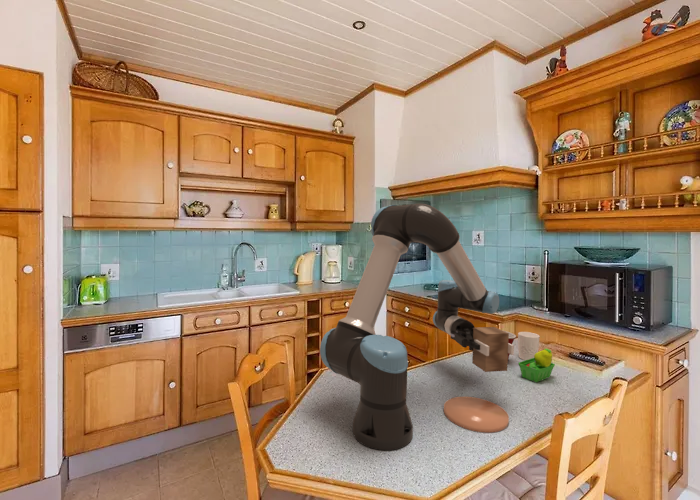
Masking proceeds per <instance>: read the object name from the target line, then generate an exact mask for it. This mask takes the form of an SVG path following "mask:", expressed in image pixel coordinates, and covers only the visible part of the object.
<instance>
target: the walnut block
mask: <svg viewBox="0 0 700 500" xmlns="http://www.w3.org/2000/svg"><path fill="white" fill-rule="evenodd" d="M505 331H506V330H503V331H502V329H500V328H497V327H495V326H484V327H483V326H482V327H481V326H480V327H475V328H474V329H473V339H474V340H478V341H480V342H482V343H484V344H486V345H488V346H489V356H486V355H484V354H482V353H481V352H479V351H477V350H476V349H474V348H473V350H472V358H471V359H472V360H471V361H472V364H473V365H474V366H476V367H477V368H479V369H480V370H482V371H483V372H484V373H493V372H507V371H508V364H509V363H508V362H509V359H508V339H509V333H507V332H508V331H507V332H505Z"/></svg>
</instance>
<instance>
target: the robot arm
mask: <svg viewBox="0 0 700 500" xmlns="http://www.w3.org/2000/svg"><path fill="white" fill-rule="evenodd" d="M370 227H371V229H370V232H371V234H372V238H371V240H372V242H373V244H374V246H373V248H372V251H371V253H370V256H369V258H368V262H367V263H366V266H365V268H364V271H363V273H362V275H361V279H360V281H359V283H358V285H357V289H356V291H355V294H354V296H353V298H352V300H351V303H350V306H349V308H348V311H347V313H346V316H344V317H343V318H340V319H339V320H338V321H337V325H336V327H333V328H331V329H329V331H327V332H325V334H324V335H323V337H322V339H321V342H320V347H319V353H320V357H321V361H322V363H323V364H324V365H325V367H326V368H327V369H329V370H331V371H332V372H334V373H335V374H337V375H341V376H343V377H345V378H346V379H349V380H351V381H352V382H355V383H356V384H359V386H360V389H359V393H360V394H359V397H360V398H359V403H358V406H357V407H356V411H355V414H354V417H353V422H352V434H353V436H354V438H355V440H357V442H359V443H360V444H361V445H364V446H365V447H367V448H371V449H374V450H380V451H394V450H397V449H401V448H403V447H405V446H407V445H408V444H409V443H410V442H411V441H412V439H413V436H414V435H413V434H414V425H413V422H412V418H411V415H410V411H409V408H408V404H407V393H408V392H407V389H408V387H407V386H408V367H409V360H408V350H407V346H406V345H404V344H405V343H403V342H402V341H400V340H398V339H396V338H394V337H393V336H390V335H389V336H388V335H382V334H376V332H375V325H376V322H377V320H378V316H379V315H380V312H381V309H382V306H383V303H384V300H385V298H386V296H387V292H388V290H389V287H390V285H391V282H392V280H393V276H394V274H395V272H396V269H397V267H398V266H397V265H398V263H399V260H400V259H401V258H400V257H401V256H402V255H404V254H406V253H408V251H409V248H410V245H411V244H412V243H413V244H414V243H420V244H423V245H425V246H427V247H428V248H429V250H430V251H431V252H432V253H434V254H436V255H437V257H438V258H439V259H440V261H441V263H442V264H443V266H444V267H445V269H446V270H447V272H448V273H449V275H450V277H451V278H452V280H451V279H442V280H440V281H439V282H438V287H437V309H436V311H435V312H434V313H433V316H432V323H433V324H434V326H435V327H436V328H437V329H438V330H440V331H442V332H444V333H446V334H447V335H449V336H450V339H451V340H453V341H455V342H457V343H458V344H459V345H460V346H461V347H463V348H467V347H468V349H469V351H473V348H474V349H476V350H477V351H479V352H481V353H482V354H484V355H486V356H489V346H488V345H486V344H484V343H482V342H480V341H478V340H474V339H473V329H474V328H476V327H475V325H474V324H473V323H472V322H471V321H469V320H467V319H465V318H463V317H461V316H459V309H462V310H463V309H464V310H468V311H473V312H478V313H482V314H493V315H494V314H495V313H496V312H497V311H498V309H499V306H500V297H499V294H498V293H497V292H496V291H495V292H494V291H492V290H487V288H486V286H485V285H484V283H483V281H482V280H481V277H480V276H479V273H478V272H477V270H476V269H475V267H474V265H473V263H472V262H471V259H470V258H469V257H468V255H467V253H466V251H465V249H464V248H463V245H462V243H461V242H460V233H459V231H458V229H457V228H456V226H455V225H454V224H453V222H452V221H451V220H450V218H448V217H447V216H446V215H445V214H444V213H443V212H441V211H440V210H439V209H437V208H436V207H435V206H432V205H429V204H426V203H412V204H401V205H400V204H399V205H397V204H390V205H388V206H382V207H380V208H378V210H377V211H375V212H374V214H373V216H372V218H371V221H370ZM514 348H515V345H514V344H513V343H512V344H510V343H508V353H509V354H510V355H511V356H512V355H513V356H514V351H515V349H514ZM510 355H509V356H510Z"/></svg>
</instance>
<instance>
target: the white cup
mask: <svg viewBox="0 0 700 500" xmlns="http://www.w3.org/2000/svg"><path fill="white" fill-rule="evenodd" d="M540 337H541V336H540V335H539V334H537V333H533V332H530V331H519V332H517V340H518V341H517V347H518V358H519V359H521V360H523V361H525V360H529V359H532V358H534V355H535V353H537V352H539V348H540Z"/></svg>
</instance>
